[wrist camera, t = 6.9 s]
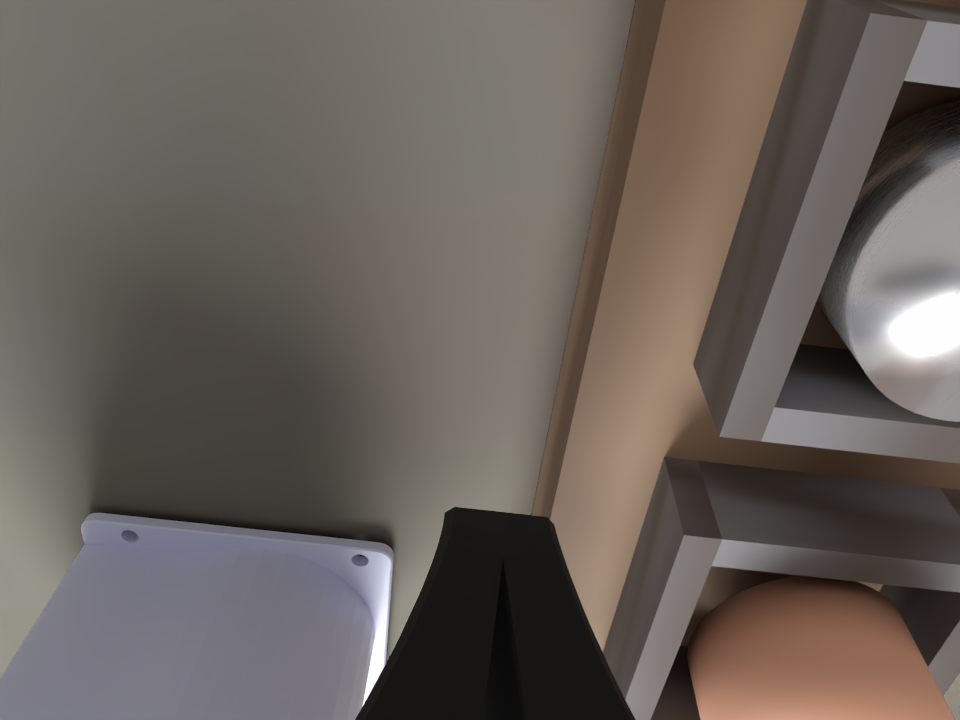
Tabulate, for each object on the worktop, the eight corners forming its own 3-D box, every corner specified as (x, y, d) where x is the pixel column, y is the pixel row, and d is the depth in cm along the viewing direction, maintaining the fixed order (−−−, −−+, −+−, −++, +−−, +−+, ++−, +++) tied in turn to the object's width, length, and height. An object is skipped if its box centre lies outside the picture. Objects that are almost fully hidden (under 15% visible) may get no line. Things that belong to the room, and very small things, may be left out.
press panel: (512, 605, 25) (513, 769, 21) (667, -159, 14) (744, -168, 10) (869, 641, 26) (946, 811, 21) (1298, -72, 15) (1666, -43, 10)
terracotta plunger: (664, 700, 20) (683, 800, 18) (720, 565, 17) (749, 663, 15) (857, 720, 20) (897, 821, 18) (941, 588, 17) (1001, 689, 15)
